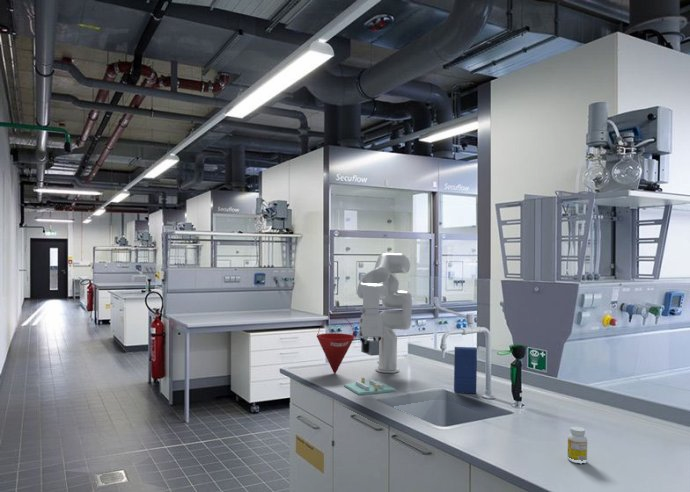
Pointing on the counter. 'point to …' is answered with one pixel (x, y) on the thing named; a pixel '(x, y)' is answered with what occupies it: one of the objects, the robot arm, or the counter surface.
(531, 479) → the counter surface
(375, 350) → the block
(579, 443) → the supplement bottle
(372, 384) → the docking tray
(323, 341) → the fire bucket
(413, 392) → the counter surface
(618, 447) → the counter surface
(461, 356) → the electronic device
